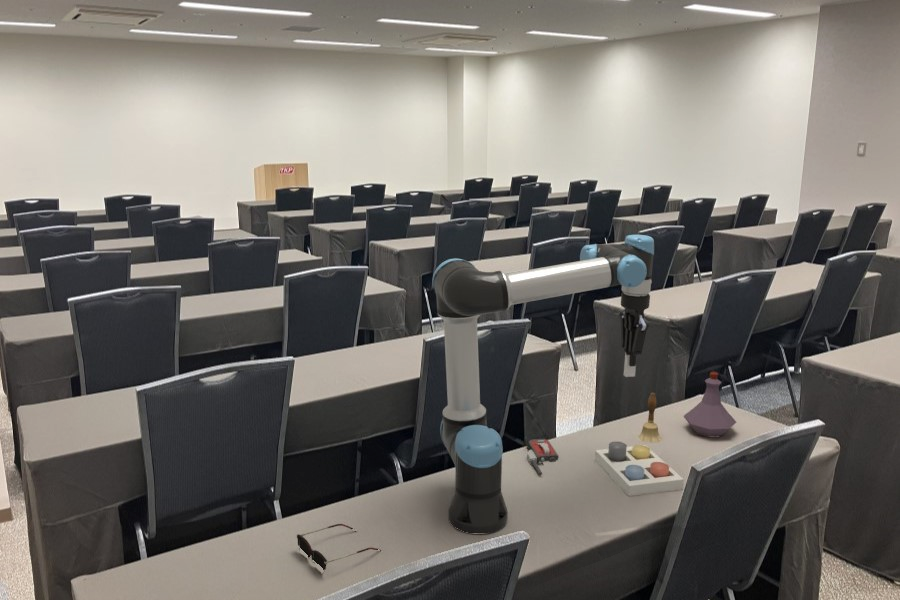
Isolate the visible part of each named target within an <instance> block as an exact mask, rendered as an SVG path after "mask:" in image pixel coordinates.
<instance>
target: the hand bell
mask: <svg viewBox="0 0 900 600" xmlns="http://www.w3.org/2000/svg"><path fill="white" fill-rule="evenodd" d="M647 408H648V417H647V422H645V423H643V425H642V429H641V432H640V433H639V435H638V437H637V438H638V439H639V440H640V441H642V442H645V443H648V444H649V443H650V444H652V443H653V444H655V443H660V442H661V441H662V437H661V436H660V434H659V426H658V424H656V423H655V422H654V420H655V411H656V408H657V397H656V392H650V395H649V397H648V401H647Z"/></svg>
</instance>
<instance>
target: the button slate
mask: <svg viewBox="0 0 900 600" xmlns="http://www.w3.org/2000/svg"><path fill="white" fill-rule="evenodd" d="M625 477H626V478H627V479H628V480H629V481H634V480H642V479H644V468H643V467H641V466H638V465H628V466H626V471H625Z"/></svg>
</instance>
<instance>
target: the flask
mask: <svg viewBox="0 0 900 600" xmlns="http://www.w3.org/2000/svg"><path fill="white" fill-rule="evenodd" d="M718 376H719V373H718V372H716V371H711V372H709V378H706V379H705V380H704V382H705V384H706V385H705V386H706V388H705V392H704V394H703V397H702V399H701V401H700V402H698V403H697V405H695V406H694V407H693V408H692V409H690V410H689V411H688V412H686V413H685V414H684V415H683V419H685V421H686V422H687V423H688V425H689V426H690V427H691V428H692V430H693V429H694V430H695V431H696V432H697V433H698V434H697V433H696V432H695V431H694V430H693V431H694V432H695V433H696V434H697V435H699V434H701V435H700V436H702V435H705V436H704V437H706V436H720V437H721V436H723V435H724V434H725V433H726V432H728V430H730V428H732V427H733V426H734V425H735V424H736V423H737V420H736V419H735V418H734V417H733V416H732V415H731V414H730V413H729V412H728V410H727V409H726V408H725V406H724V405H723V403H722V401H721V400H722V399H721V396H720V385H721V384H722V381H721V380H719V379H718Z"/></svg>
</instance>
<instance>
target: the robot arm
mask: <svg viewBox="0 0 900 600" xmlns="http://www.w3.org/2000/svg"><path fill="white" fill-rule="evenodd" d="M654 256H655V241H654V238H653V237H652V236H649V235H644V234H629V235H626V236H625V239H624V242H623V243H609V244H608V243H606V244H605V243H603V244H601V243H600V244H598V243H594V244H585V245H584V246H582V248H581V250H580V255H579V260H578V261H573V262H566V263H561V264H555V265H550V266H544V267H539V268H538V267H537V268H531V269H525V270H521V271H515V272H510V273H506V272H503V271H502V270H497V271H496V270H495V271H481V270H479V269H478V268H476V267H475V265H474V264H473V263H471V262H470V261H468V260H465V259H461V258H456V257H455V258H449V259H446V260H445V261H443V262H441V263H440V264H439V265H438V266H437V267H436V269H434V273H433V275H432V282H431V283H432V288H433V290H434V293H435V296H436V311H437V312H436V314H437V316H438V317H440V318H441V319H442V320H443V332H444V334H443V335H444V350H445V351H444V354H445V373H446V374H445V375H446V392H447V405H446V406H445V407H444V408H443V410H442V419H441V422H440V429H439V432H440V438H441V441H442V443H443V445H444V447H445V448H446V450H447V452H448V454H449V456H450V458H451V460H452V462H453V464H454V468H455V469H454V470H455V472H454V473H455V477H454V478H455V481H454V483H455V490H454V494H453V496H452V499H451V502H450V504H449V507H448V522H449V521H450V522H449V523H451V524H452V525H453V526H454V527H456V528H458V529H460V530H462V531H464V532H463V533H465V532H468V533H467V534H470V533H488V534H492V533H495V532H497V531H500V530H501V529H503V528H505V526H506V525H507V523H508V519H509V518H508V514H509V513H508V507H507V504H506V502H505V499H504V495H503V492H502V473H503V472H502V470H503V467H502V466H503V465H502V463H503V459H502V458H503V449H504V448H503V440H502V437H501V435H500V434H499V433H498V432H497V430H495V429H494V428H492V427H491V428H489V427H488V426H487V421H488V420H487V408H486V407H485V406H484V405H483V404H481V394H480V367H479V366H480V363H479V340H478V339H479V338H478V336H479V335H478V333H479V332H478V318H479V317H480V316H482V315H487V314H488V315H489V314H493V313H499V312H504V311H508V310H509V308H510V307H512V306H513V305H517V304H525V303H529V302H534V301H539V300H540V301H541V300H544V299H551V298H556V297H561V296H566V295H572V294H578V293H582V292H583V293H584V292H588V291H594V290H600V289H604V288H605V289H606V288H609V287H617V286H621V291H622V292H621V295H620V306H621V308H624V309H623V311H622V312H621V311H620V312H619V320H620V343H621V344H620V345H621V348H622V349H623V351H624V354H625V355H624V364H623V365H624V366H623V376H624V377H625V378H629V377H631V378H633V377H636V367H637V356H638V355H642V353H643V350H644V349H643V348H644V344H645V340H646V334H647V330H648V329H649V327H650V325H649V323H648V322H645V310H647V309H649V308H650V300H651V295H650V293H651V288H652V286H651V285H652V282H653V281H652V274H653V264H654V263H653V262H654ZM451 524H450V525H451ZM452 525H451V526H452ZM453 526H452V527H453ZM454 527H453V528H454ZM456 528H455V529H456ZM458 529H457V530H458ZM460 530H459V531H460ZM462 531H461V532H462Z"/></svg>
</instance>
